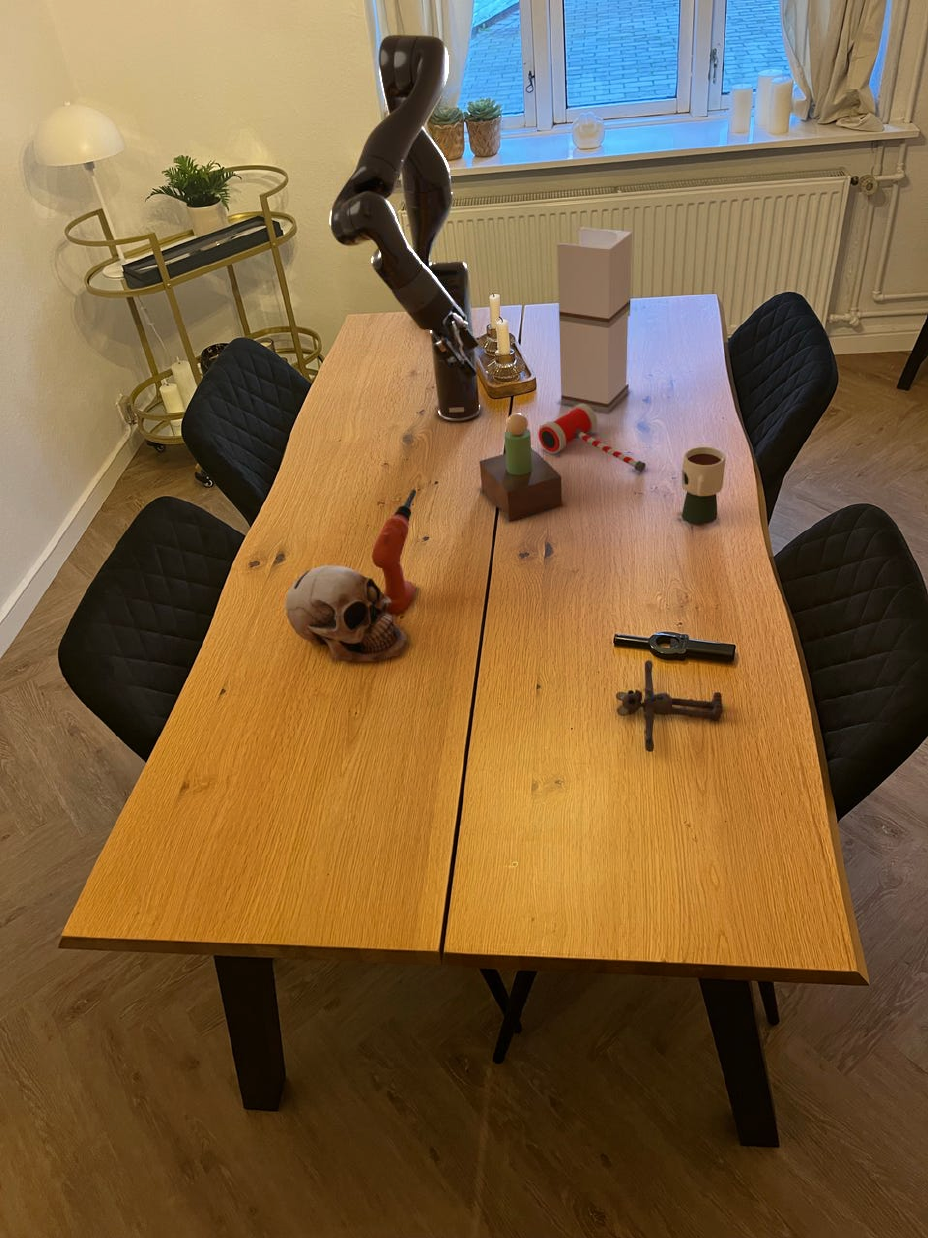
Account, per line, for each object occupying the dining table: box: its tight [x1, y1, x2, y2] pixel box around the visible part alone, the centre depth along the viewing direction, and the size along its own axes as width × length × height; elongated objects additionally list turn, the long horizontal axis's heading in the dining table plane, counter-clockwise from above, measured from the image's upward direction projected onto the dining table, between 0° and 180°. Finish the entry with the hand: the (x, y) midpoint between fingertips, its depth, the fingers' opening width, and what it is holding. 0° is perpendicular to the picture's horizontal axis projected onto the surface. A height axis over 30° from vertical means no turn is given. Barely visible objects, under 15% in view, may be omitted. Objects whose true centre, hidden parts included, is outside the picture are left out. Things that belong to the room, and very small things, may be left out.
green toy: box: [503, 412, 532, 475], centre depth 171 cm, size 5×5×11 cm
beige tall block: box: [556, 226, 633, 414], centre depth 197 cm, size 11×11×35 cm
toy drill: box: [371, 489, 417, 614], centre depth 156 cm, size 5×19×15 cm, turn 163°
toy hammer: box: [537, 404, 646, 473], centre depth 187 cm, size 23×12×6 cm, turn 44°
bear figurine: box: [615, 659, 724, 753], centre depth 131 cm, size 18×4×14 cm
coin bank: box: [285, 564, 408, 663], centre depth 148 cm, size 16×17×13 cm
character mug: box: [681, 445, 727, 525], centre depth 164 cm, size 11×7×13 cm, turn 164°
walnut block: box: [479, 446, 563, 522], centre depth 177 cm, size 13×11×6 cm
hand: (473, 360), depth 169 cm, fingers open, 8 cm apart
